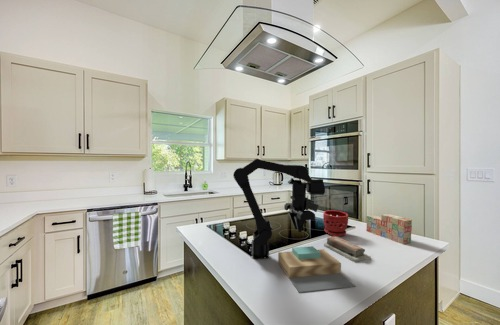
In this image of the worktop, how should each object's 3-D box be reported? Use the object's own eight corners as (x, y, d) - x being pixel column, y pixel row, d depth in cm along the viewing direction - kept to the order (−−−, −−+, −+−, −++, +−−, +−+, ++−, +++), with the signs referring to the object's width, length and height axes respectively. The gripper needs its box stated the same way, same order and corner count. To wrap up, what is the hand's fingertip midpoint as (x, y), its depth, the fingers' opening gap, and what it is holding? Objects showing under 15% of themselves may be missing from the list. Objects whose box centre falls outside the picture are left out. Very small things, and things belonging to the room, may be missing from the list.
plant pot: (318, 230, 127) (319, 210, 127) (339, 229, 129) (340, 210, 129) (329, 238, 114) (330, 216, 114) (352, 238, 116) (353, 215, 116)
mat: (299, 292, 67) (299, 291, 67) (289, 278, 75) (289, 277, 75) (355, 286, 71) (355, 285, 71) (340, 273, 79) (340, 273, 79)
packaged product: (323, 236, 104) (338, 234, 108) (323, 246, 104) (338, 243, 108) (355, 251, 88) (371, 248, 92) (354, 263, 88) (371, 259, 92)
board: (289, 278, 75) (289, 267, 75) (278, 262, 87) (278, 252, 87) (340, 273, 79) (341, 263, 79) (323, 258, 91) (323, 249, 90)
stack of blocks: (365, 231, 128) (366, 210, 128) (373, 230, 130) (373, 209, 130) (403, 244, 108) (404, 220, 108) (411, 243, 111) (412, 219, 111)
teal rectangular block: (298, 259, 81) (298, 254, 81) (292, 252, 87) (292, 247, 87) (320, 257, 83) (320, 252, 83) (312, 251, 88) (312, 246, 88)
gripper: (328, 198, 84) (326, 237, 85) (306, 191, 103) (305, 223, 103) (301, 198, 82) (300, 239, 83) (284, 191, 101) (283, 224, 101)
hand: (297, 230), depth 92 cm, fingers open, 3 cm apart
